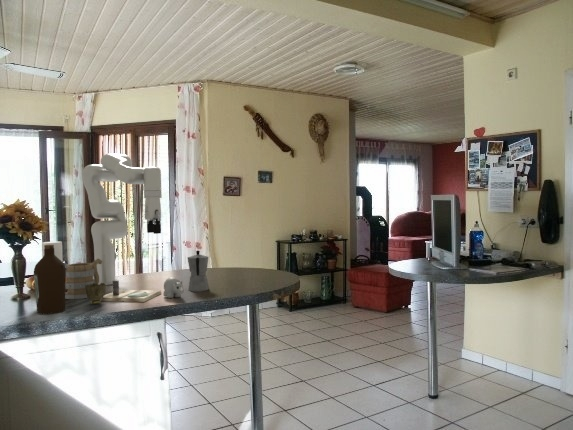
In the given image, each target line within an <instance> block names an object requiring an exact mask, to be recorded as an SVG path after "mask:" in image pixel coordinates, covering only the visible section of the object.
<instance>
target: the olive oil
mask: <svg viewBox="0 0 573 430" xmlns="http://www.w3.org/2000/svg"><path fill="white" fill-rule="evenodd" d="M44 247H45V249H44V256H43V258H42V257H41V258H40V260H39V261H37V263H36V264H35V265H34V269H33V279H34V280H33V281H34V290H35V301H36V302H35V303H36V313H37V314H38V315H53V314H58V313H62V312H64V311H65V310H66V299H65V293H66V286H65V284H66V281H67V277H66V270H67V267H66V265H65V263H64V262H62V261H61V260H60V259H59V258H57V257H56V256H55V254H54V245H44Z"/></svg>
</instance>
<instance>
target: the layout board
mask: <svg viewBox="0 0 573 430" xmlns="http://www.w3.org/2000/svg"><path fill="white" fill-rule="evenodd" d="M118 280H119V279H117V280H115V281H113V284H112V291H111V292H110V293H107V294H104V296H103V298H102V299H101V300H100V301H101V302H122V301H124V302H126V303H127V302H128V303H130V302H132V303H134V302H135V303H137V302H139V303H144V302H147V301H149V300H151V299H152V298H156V297H157V296H159V295H161V294H162V290H158V289H157V290H156V289H151V290H150V289H120V282H119V281H120V280H119V281H118Z"/></svg>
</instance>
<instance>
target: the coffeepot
mask: <svg viewBox="0 0 573 430" xmlns="http://www.w3.org/2000/svg"><path fill="white" fill-rule="evenodd" d="M195 253H196V254H194V255H191V256H188V257H186V258H187V263H188V269H189V272H190V277H189V283H188V291H190V292H193V293H194V292H205V291H206V292H207V291H208V290H209V289H210V286H209V281H208V275H207V274H206V272H207V270H208V265H209V264H208V263H209V256H208V255H203V254H200V250H195Z"/></svg>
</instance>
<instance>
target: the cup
mask: <svg viewBox="0 0 573 430" xmlns="http://www.w3.org/2000/svg"><path fill="white" fill-rule="evenodd" d="M85 289H86V295H87V298H86V299H88V300H89V301H90V304H91V305H95V304H96V305H99V304H101V302H102V301H100V300H101V299H102V298H103V296H104V295H105V291H106V290H105V289H106V285H105V284H104V283H103V284H102V283H101V284H100V285H98V283H96V284H95V283H93V284H92V285H91V284H89V285H88V284H87V285H85Z"/></svg>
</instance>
